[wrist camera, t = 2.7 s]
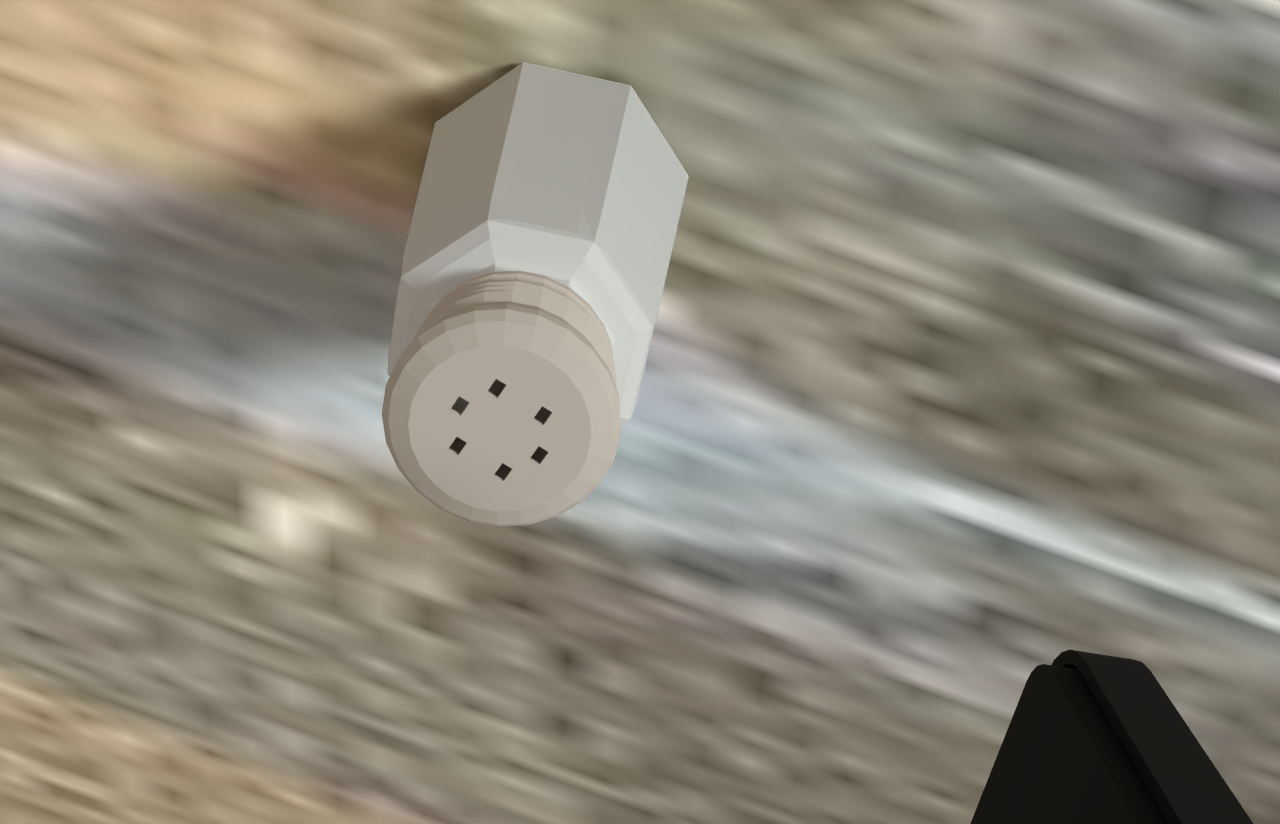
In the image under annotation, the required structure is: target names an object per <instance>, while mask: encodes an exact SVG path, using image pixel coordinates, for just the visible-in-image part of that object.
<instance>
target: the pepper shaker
mask: <svg viewBox="0 0 1280 824" xmlns="http://www.w3.org/2000/svg"><path fill="white" fill-rule="evenodd" d="M688 177H689V176H688V174H687V173H686V171H685V170H684V168H683V167H682V165H681V163H680V162H679V160H678V159H677V157H676V156H675V154H674V152H673V151H672V149H671V148H670V146H669V145H668V143H667V141H666V140H665V138H664V137H663V135H662V134H661V132H660V130H659V129H658V127H657V126H656V124H655V122H654V121H653V119H652V118H651V116H650V115H649V113H648V111H647V110H646V108H645V107H644V105H643V104H642V102H641V100H640V99H639V97H638V96H637V94H636V93H635V91H634V89H633V88H632V86H631V85H627V84H622V83H618V82H613V81H608V80H604V79H599V78H595V77H590V76H585V75H581V74H576V73H572V72H567V71H562V70H558V69H553V68H549V67H544V66H540V65H535V64H530V63H526V62H523V63H521V64H520V65H518V66H517V67H515V68H514V69H512V70H511V71H510V72H508V73H507V74H505V75H504V76H502V77H501V78H499V79H498V80H496V81H495V82H493V83H492V84H491V85H489V86H488V87H486V88H485V89H483V90H482V91H480V92H479V93H477V94H476V95H475V96H473V97H472V98H470V99H469V100H467V101H466V102H464V103H463V104H461V105H460V106H458V107H457V108H456V109H454V110H453V111H451V112H450V113H448V114H447V115H445V116H444V117H442V118H441V119H439V120H438V121H437V122H435V125H434V129H433V133H432V137H431V142H430V146H429V150H428V154H427V158H426V163H425V167H424V171H423V175H422V179H421V183H420V188H419V192H418V196H417V200H416V204H415V208H414V213H413V217H412V221H411V225H410V229H409V234H408V238H407V242H406V246H405V250H404V254H403V263H402V273H401V277H400V282H399V287H398V291H397V299H396V306H395V313H394V320H393V327H392V334H391V342H390V349H389V359H388V374H389V376H390V378H389V380H388V382H387V384H386V388H385V395H384V402H383V410H382V418H383V424H384V431H385V438H386V443H387V445H388V447H389V449H390V452H391V454H392V456H393V458H394V461H395V463H396V465H397V467H398V469H399V470H400V471H401V473H402V474H403V475H404V476H405V478H406V479H407V480H408V481H409V482H410V484H411V485H412V486H413V487H414V489H415V490H416V491H417V492H418V493H420V494H421V495H422V496H424V497H425V498H426V499H428V500H429V501H430V502H432V503H433V504H434V505H436V506H437V507H438V508H440V509H441V510H444V511H446V512H448V513H451V514H453V515H455V516H458V517H460V518H462V519H465V520H467V521H470V522H476V523H481V524H487V525H492V526H498V527H499V526H520V525H530V524H534V523H537V522H541V521H544V520H547V519H551V518H554V517H557V516H559V515H561V514H562V513H564V512H566V511H567V510H569V509H571V508H573V507H574V506H576V505H578V504H579V503H581V502H582V501H583V500H584V499H585V498H586V497H587V496H588V495H589V494H590V493H591V492H592V491H593V490H594V489H595V488H596V487H597V486H598V485H599V484H600V483H601V482H602V480H603V479H604V477H605V475H606V473H607V471H608V470H609V468H610V466H611V464H612V462H613V461H614V459H615V456H616V452H617V447H618V443H619V439H620V434H621V425H623V424H624V423H626V422H628V421H629V420H631V417H632V414H633V412H634V409H635V406H636V404H637V400H638V396H639V391H640V387H641V383H642V378H643V374H644V369H645V365H646V360H647V356H648V351H649V347H650V343H651V338H652V334H653V330H654V325H655V321H656V318H657V314H658V310H659V306H660V301H661V297H662V292H663V288H664V284H665V279H666V275H667V270H668V266H669V261H670V257H671V252H672V248H673V244H674V239H675V235H676V230H677V226H678V221H679V217H680V212H681V208H682V204H683V199H684V195H685V190H686V186H687V181H688Z"/></svg>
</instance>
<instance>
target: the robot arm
mask: <svg viewBox="0 0 1280 824" xmlns="http://www.w3.org/2000/svg"><path fill="white" fill-rule="evenodd" d="M971 824H1253V823H1252V821H1251V820H1250V818H1249V817H1248V815H1247V814H1246V812H1245V811H1244V809H1243V808H1242V806H1241V805H1240V803H1239V802H1238V800H1237V799H1236V797H1235V796H1234V794H1233V793H1232V791H1231V790H1230V788H1229V787H1228V785H1227V784H1226V782H1225V781H1224V779H1223V778H1222V776H1221V775H1220V774H1219V772H1218V771H1217V769H1216V768H1215V766H1214V765H1213V763H1212V762H1211V760H1210V759H1209V757H1208V756H1207V754H1206V753H1205V751H1204V750H1203V748H1202V747H1201V745H1200V744H1199V742H1198V741H1197V739H1196V738H1195V736H1194V735H1193V733H1192V732H1191V730H1190V729H1189V727H1188V726H1187V724H1186V723H1185V722H1184V720H1183V719H1182V717H1181V716H1180V714H1179V713H1178V711H1177V710H1176V708H1175V707H1174V705H1173V704H1172V702H1171V701H1170V699H1169V698H1168V696H1167V695H1166V693H1165V692H1164V690H1163V689H1162V687H1161V686H1160V684H1159V683H1158V681H1157V680H1156V678H1155V677H1154V675H1153V674H1152V672H1151V671H1150V670H1149V669H1148V668H1147V667H1146V666H1145V665H1144V664H1143V663H1142V662H1139V661H1136V660H1132V659H1126V658H1119V657H1113V656H1107V655H1100V654H1094V653H1088V652H1081V651H1075V650H1067V651H1064V652H1062V653H1061V654H1060V655H1059V656H1058V657H1057V658H1056V659H1055V660H1054V661H1053V663H1052V665H1045V664H1042V665H1039V666H1037V667H1036V668H1035V669H1034V670H1033V671H1032V672H1031V674H1030V676H1029V678H1028V680H1027V682H1026V685H1025V687H1024V690H1023V692H1022V695H1021V697H1020V700H1019V702H1018V705H1017V707H1016V710H1015V712H1014V715H1013V717H1012V720H1011V723H1010V725H1009V728H1008V730H1007V733H1006V735H1005V738H1004V740H1003V743H1002V745H1001V748H1000V750H999V753H998V755H997V758H996V761H995V763H994V766H993V768H992V771H991V773H990V776H989V778H988V781H987V783H986V786H985V788H984V791H983V793H982V796H981V798H980V801H979V804H978V806H977V809H976V811H975V814H974V816H973V819H972V821H971Z"/></svg>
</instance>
